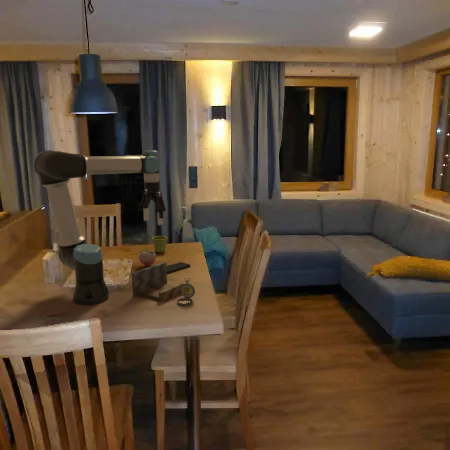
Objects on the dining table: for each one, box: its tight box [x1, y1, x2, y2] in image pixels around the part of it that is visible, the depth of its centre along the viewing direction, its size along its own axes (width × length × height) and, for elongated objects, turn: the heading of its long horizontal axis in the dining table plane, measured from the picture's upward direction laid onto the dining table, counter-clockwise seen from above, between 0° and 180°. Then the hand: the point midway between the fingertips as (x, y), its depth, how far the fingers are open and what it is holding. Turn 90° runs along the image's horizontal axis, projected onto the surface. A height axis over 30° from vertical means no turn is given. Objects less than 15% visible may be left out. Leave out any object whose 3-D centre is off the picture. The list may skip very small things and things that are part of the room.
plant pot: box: [151, 235, 168, 253], centre depth 256 cm, size 9×9×9 cm
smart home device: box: [167, 261, 191, 275], centre depth 222 cm, size 8×2×20 cm
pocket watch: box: [176, 277, 196, 306], centre depth 178 cm, size 8×8×10 cm
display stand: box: [131, 261, 184, 303], centre depth 188 cm, size 20×15×11 cm
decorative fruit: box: [138, 249, 157, 267], centre depth 227 cm, size 9×8×10 cm
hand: (153, 222), depth 215 cm, fingers open, 13 cm apart
